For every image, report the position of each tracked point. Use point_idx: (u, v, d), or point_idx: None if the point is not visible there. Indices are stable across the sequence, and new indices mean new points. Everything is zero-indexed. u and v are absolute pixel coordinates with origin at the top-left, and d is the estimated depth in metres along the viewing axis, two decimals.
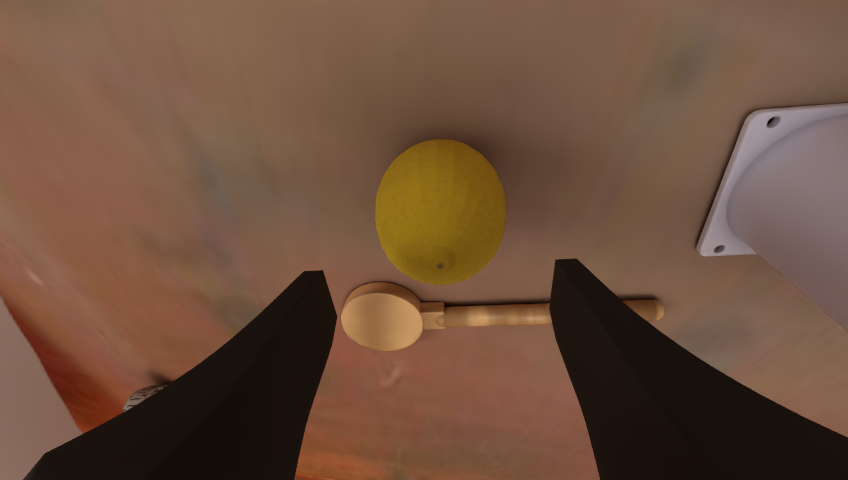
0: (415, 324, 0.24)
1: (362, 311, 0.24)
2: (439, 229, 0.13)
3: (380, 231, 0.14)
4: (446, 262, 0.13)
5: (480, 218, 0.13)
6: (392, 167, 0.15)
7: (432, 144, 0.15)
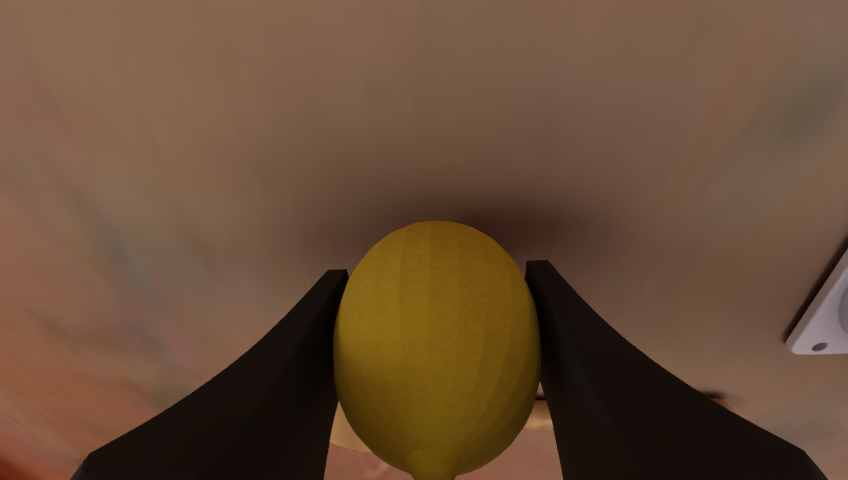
0: None
1: (336, 411, 0.18)
2: (432, 421, 0.07)
3: (337, 391, 0.09)
4: (445, 479, 0.07)
5: (505, 393, 0.07)
6: (359, 276, 0.09)
7: (423, 240, 0.09)
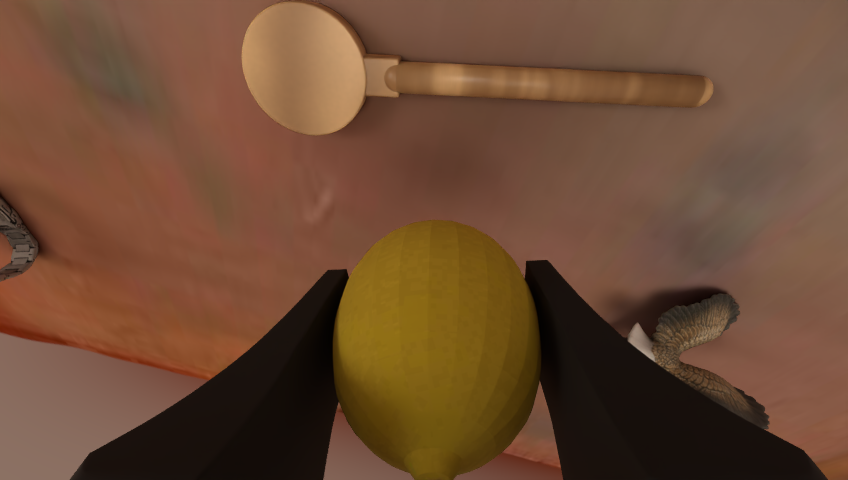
0: (354, 80, 0.16)
1: (274, 41, 0.16)
2: (432, 421, 0.07)
3: (337, 390, 0.09)
4: (445, 478, 0.07)
5: (505, 392, 0.07)
6: (359, 276, 0.09)
7: (423, 240, 0.09)
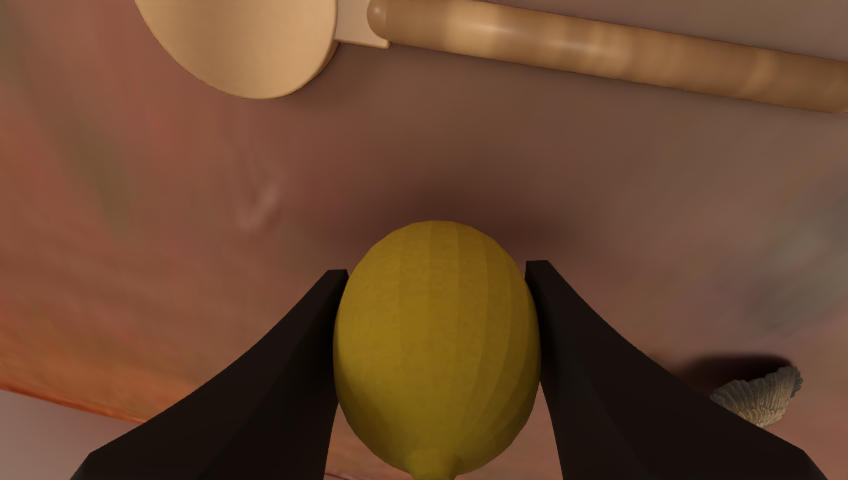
0: (317, 10, 0.10)
1: None
2: (432, 421, 0.07)
3: (337, 391, 0.09)
4: (445, 479, 0.07)
5: (505, 393, 0.07)
6: (359, 276, 0.09)
7: (423, 240, 0.09)
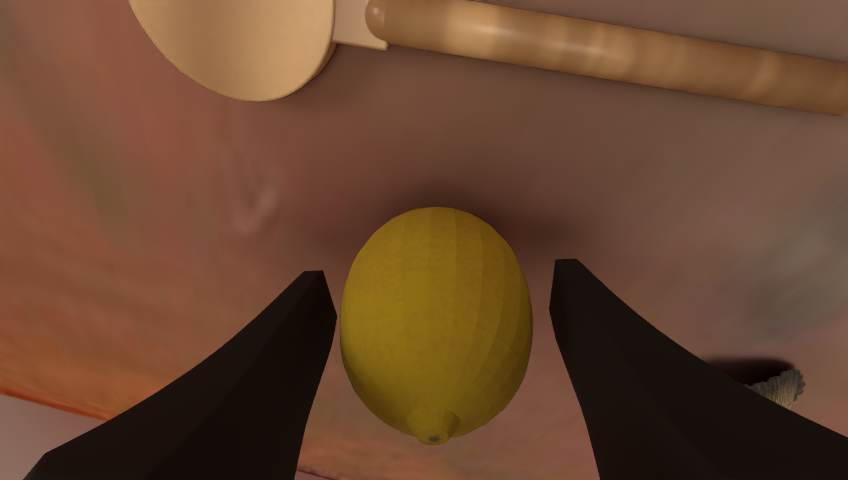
0: (314, 11, 0.10)
1: None
2: (431, 382, 0.08)
3: (344, 360, 0.09)
4: (443, 434, 0.08)
5: (498, 358, 0.08)
6: (364, 256, 0.10)
7: (423, 223, 0.10)
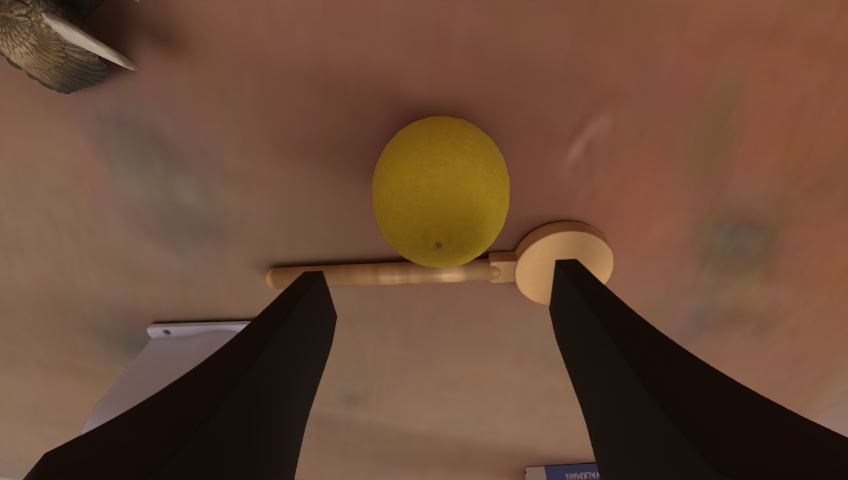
0: (524, 271, 0.21)
1: None
2: (447, 260, 0.13)
3: (503, 210, 0.13)
4: (433, 248, 0.12)
5: (409, 259, 0.14)
6: None
7: None
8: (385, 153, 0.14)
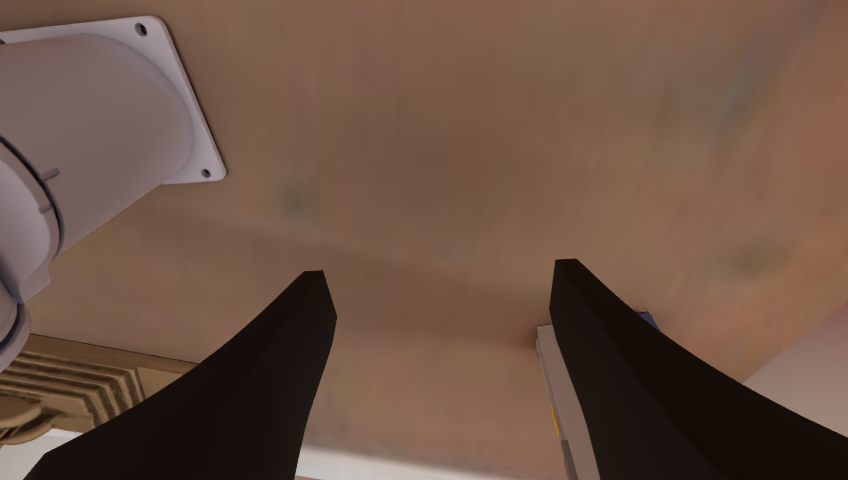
0: None
1: None
2: None
3: None
4: None
5: None
6: None
7: None
8: None
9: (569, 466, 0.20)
